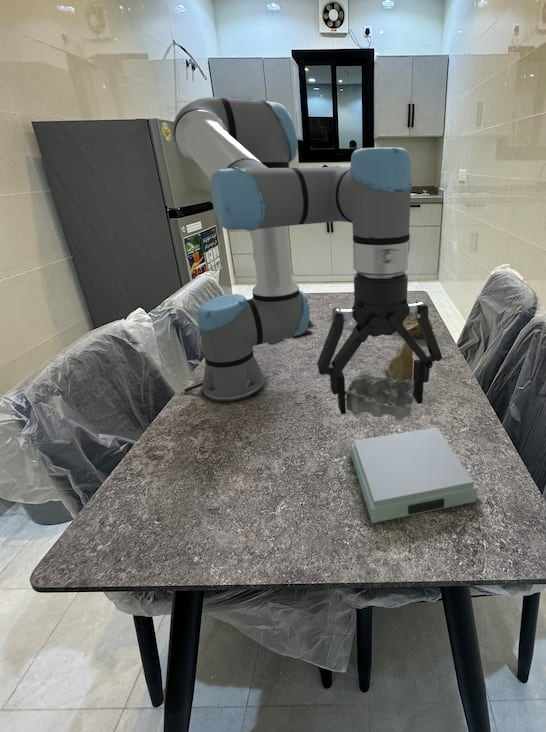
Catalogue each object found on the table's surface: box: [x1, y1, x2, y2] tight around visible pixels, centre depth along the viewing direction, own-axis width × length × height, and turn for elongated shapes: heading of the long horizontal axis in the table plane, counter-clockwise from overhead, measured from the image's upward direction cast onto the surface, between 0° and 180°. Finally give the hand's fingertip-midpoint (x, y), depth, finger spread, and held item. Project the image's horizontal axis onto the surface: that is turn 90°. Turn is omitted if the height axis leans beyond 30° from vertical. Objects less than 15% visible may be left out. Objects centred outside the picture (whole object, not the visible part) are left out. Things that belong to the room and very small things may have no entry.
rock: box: [386, 341, 414, 381], centre depth 99 cm, size 11×9×10 cm
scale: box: [350, 426, 479, 524], centre depth 68 cm, size 18×16×4 cm
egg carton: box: [345, 374, 414, 421], centre depth 61 cm, size 11×8×4 cm
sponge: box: [402, 313, 434, 338], centre depth 132 cm, size 13×8×20 cm
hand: (380, 404), depth 62 cm, fingers closed on egg carton, 12 cm apart
